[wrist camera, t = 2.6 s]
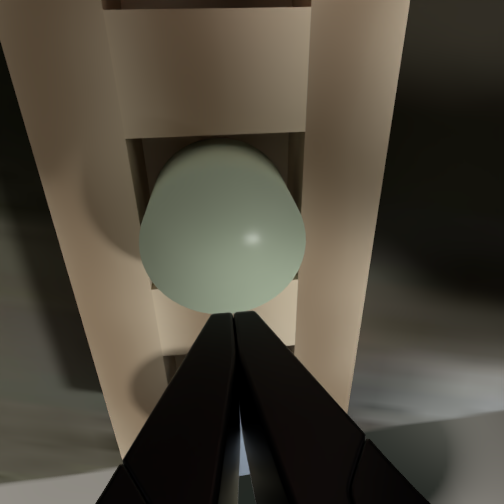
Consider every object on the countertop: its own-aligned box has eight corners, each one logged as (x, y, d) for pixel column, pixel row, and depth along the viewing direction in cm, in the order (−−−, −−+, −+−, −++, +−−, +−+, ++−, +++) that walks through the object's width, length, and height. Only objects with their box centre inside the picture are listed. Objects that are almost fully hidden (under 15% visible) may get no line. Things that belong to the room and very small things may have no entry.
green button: (287, 134, 12) (310, 163, 10) (284, 258, 14) (301, 308, 12) (142, 140, 12) (125, 171, 9) (162, 266, 14) (151, 319, 11)
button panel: (390, -266, 10) (470, -397, 7) (323, 380, 21) (343, 438, 18) (-25, -283, 9) (-140, -440, 6) (135, 397, 20) (122, 461, 17)
